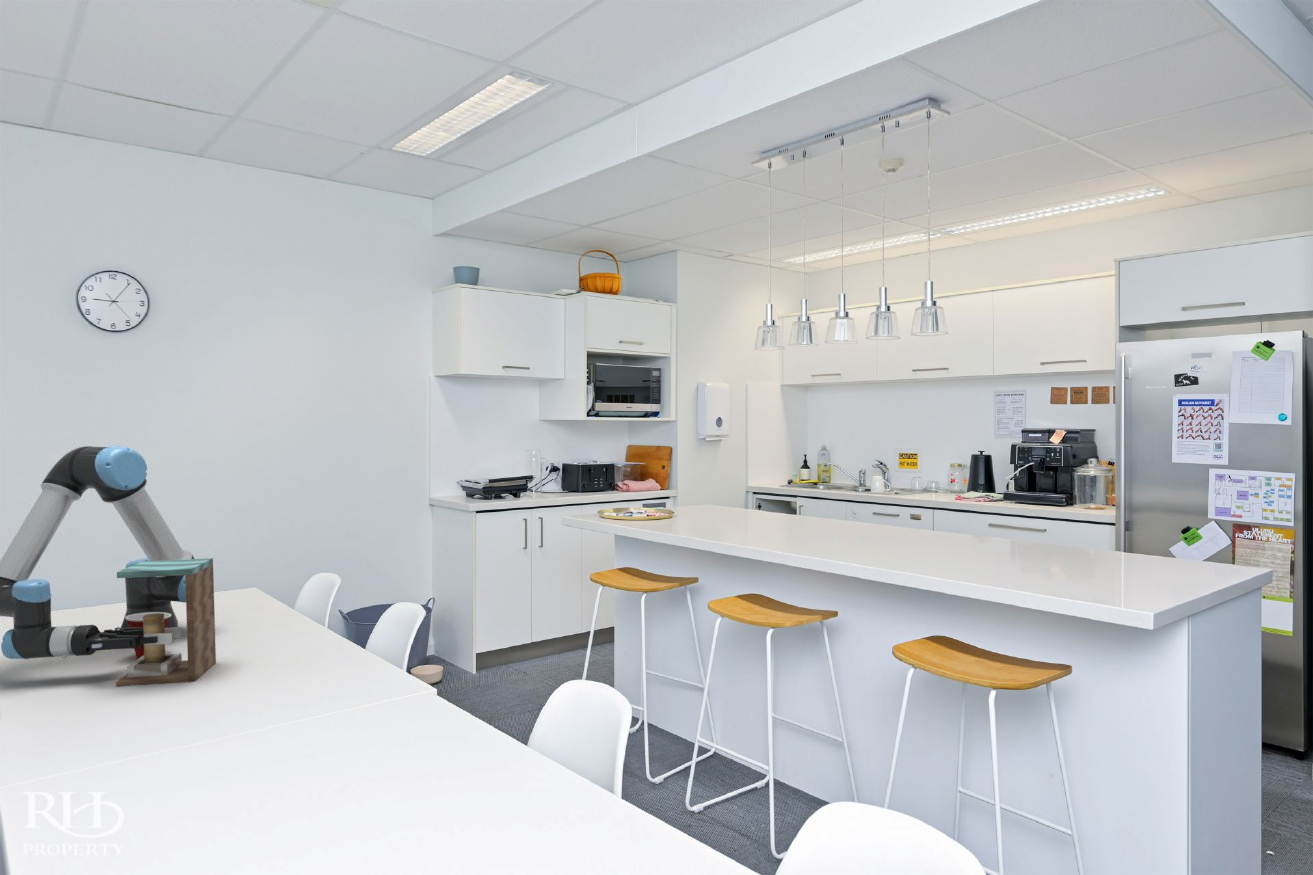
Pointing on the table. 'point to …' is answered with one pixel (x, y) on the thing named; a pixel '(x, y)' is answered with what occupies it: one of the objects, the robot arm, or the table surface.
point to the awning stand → (197, 623)
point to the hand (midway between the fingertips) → (176, 635)
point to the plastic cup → (137, 621)
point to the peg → (150, 626)
